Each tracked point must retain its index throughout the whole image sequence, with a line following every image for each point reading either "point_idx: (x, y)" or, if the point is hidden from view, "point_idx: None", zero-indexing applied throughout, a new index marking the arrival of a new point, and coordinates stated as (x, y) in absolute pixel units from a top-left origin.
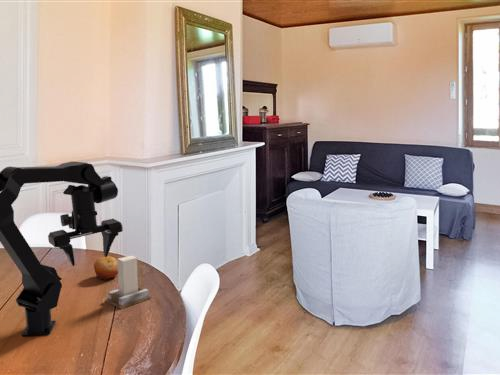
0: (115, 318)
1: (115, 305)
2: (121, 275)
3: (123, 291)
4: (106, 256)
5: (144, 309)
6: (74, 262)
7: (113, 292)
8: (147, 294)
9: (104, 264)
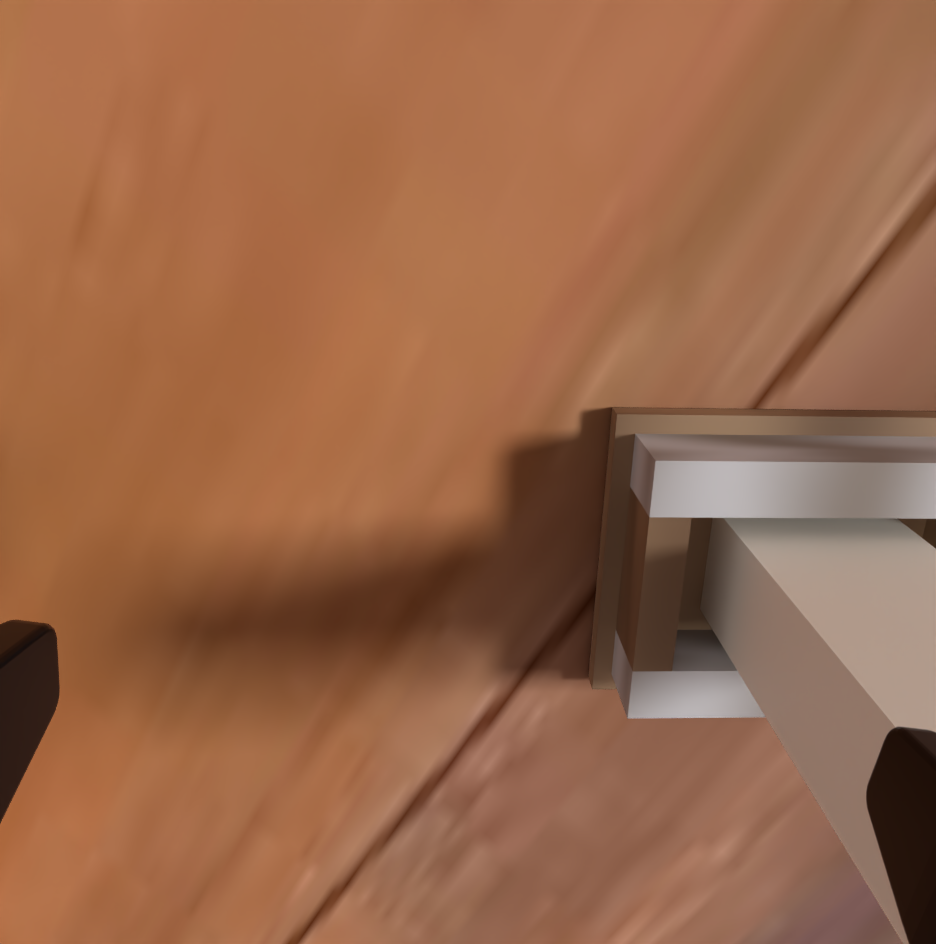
0: (448, 789)
1: (597, 590)
2: (831, 755)
3: (739, 652)
4: (885, 826)
5: (721, 808)
6: (5, 807)
7: (686, 514)
8: None
9: None
